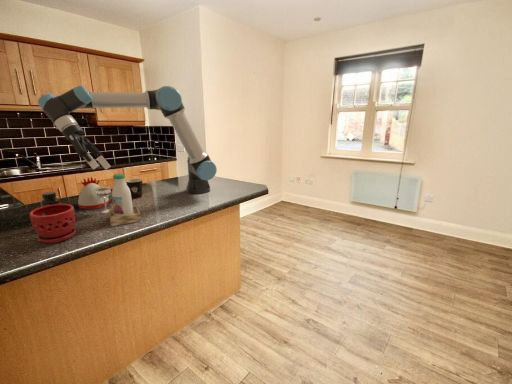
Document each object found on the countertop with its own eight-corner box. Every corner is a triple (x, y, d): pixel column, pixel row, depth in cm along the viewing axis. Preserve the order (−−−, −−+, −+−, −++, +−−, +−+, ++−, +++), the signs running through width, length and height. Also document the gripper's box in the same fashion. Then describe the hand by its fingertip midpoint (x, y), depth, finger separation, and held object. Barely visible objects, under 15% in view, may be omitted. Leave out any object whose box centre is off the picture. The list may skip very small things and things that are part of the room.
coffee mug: (146, 195, 155) (145, 179, 152) (139, 199, 146) (137, 182, 144) (128, 194, 156) (126, 178, 153) (120, 198, 147) (117, 181, 145)
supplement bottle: (48, 222, 113) (42, 196, 109) (41, 219, 116) (35, 193, 113) (65, 217, 118) (60, 192, 115) (59, 214, 122) (54, 190, 118)
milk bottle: (130, 213, 122) (125, 172, 117) (136, 217, 117) (131, 174, 111) (112, 216, 117) (106, 174, 112) (118, 221, 112) (111, 177, 106)
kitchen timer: (75, 204, 136) (70, 177, 132) (104, 199, 146) (100, 173, 142) (83, 210, 127) (77, 181, 123) (112, 204, 137) (108, 177, 133)
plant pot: (27, 242, 94) (20, 212, 91) (64, 229, 106) (58, 201, 103) (51, 249, 90) (43, 217, 87) (86, 234, 102) (81, 205, 98)
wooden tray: (137, 212, 125) (136, 206, 124) (141, 220, 116) (140, 213, 115) (109, 217, 119) (108, 210, 118) (111, 226, 110) (110, 218, 109)
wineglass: (99, 209, 129) (95, 186, 125) (114, 208, 131) (111, 185, 128) (97, 214, 123) (93, 190, 119) (113, 212, 125) (109, 189, 122)
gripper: (76, 137, 124) (106, 172, 127) (44, 128, 99) (82, 172, 103) (90, 128, 125) (119, 164, 128) (61, 117, 100) (98, 161, 104)
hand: (102, 168), depth 116 cm, fingers open, 13 cm apart
